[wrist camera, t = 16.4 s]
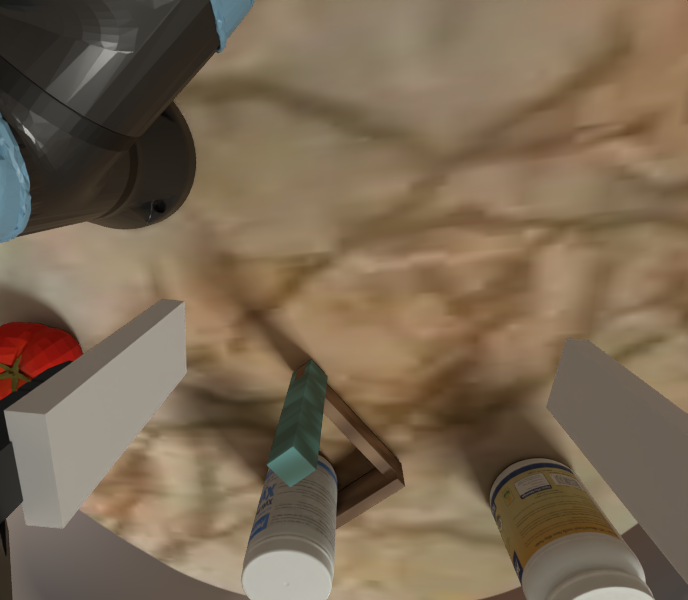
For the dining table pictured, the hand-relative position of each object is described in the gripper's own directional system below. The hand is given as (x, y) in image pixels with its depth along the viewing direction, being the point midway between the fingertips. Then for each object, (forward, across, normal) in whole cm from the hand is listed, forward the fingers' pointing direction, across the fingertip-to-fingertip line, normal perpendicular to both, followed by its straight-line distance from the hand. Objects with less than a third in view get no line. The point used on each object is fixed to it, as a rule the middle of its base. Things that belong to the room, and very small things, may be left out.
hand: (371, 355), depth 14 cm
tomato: (+32, -36, -19) cm, 52 cm away
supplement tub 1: (+32, -4, -34) cm, 47 cm away
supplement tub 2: (+32, +27, -33) cm, 53 cm away
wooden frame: (+31, -4, -30) cm, 43 cm away
